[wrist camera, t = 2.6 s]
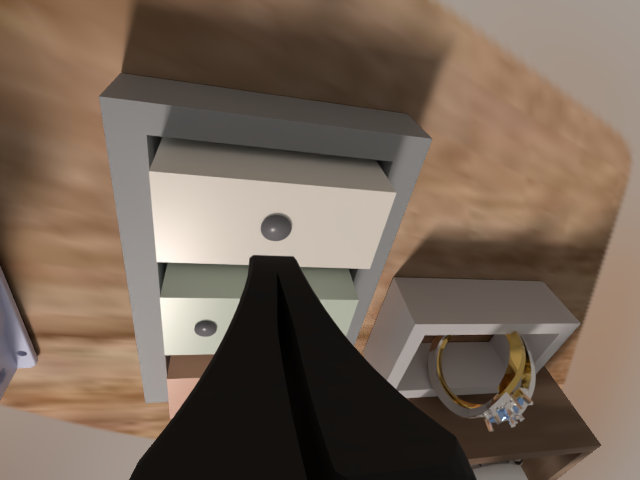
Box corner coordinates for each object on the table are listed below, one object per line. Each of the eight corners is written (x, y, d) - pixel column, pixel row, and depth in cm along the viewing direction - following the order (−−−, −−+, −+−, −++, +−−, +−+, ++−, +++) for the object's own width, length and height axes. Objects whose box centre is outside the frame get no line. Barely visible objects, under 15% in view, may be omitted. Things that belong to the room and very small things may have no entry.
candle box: (471, 431, 42) (511, 514, 36) (353, 441, 39) (375, 535, 33) (535, 354, 34) (601, 445, 28) (394, 358, 31) (433, 462, 25)
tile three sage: (330, 309, 23) (341, 352, 21) (173, 309, 21) (164, 357, 18) (345, 259, 21) (359, 301, 18) (169, 253, 18) (159, 299, 16)
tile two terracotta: (313, 368, 26) (320, 411, 24) (176, 373, 24) (169, 420, 22) (324, 331, 24) (333, 374, 22) (174, 332, 22) (166, 380, 19)
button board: (328, 357, 29) (335, 393, 27) (154, 362, 26) (145, 403, 24) (407, 114, 18) (432, 138, 16) (120, 73, 15) (98, 96, 13)
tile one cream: (354, 230, 19) (370, 270, 17) (167, 219, 17) (156, 263, 15) (375, 159, 17) (397, 194, 15) (163, 135, 15) (148, 172, 13)
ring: (480, 283, 27) (553, 387, 20) (500, 302, 28) (573, 402, 22) (403, 337, 29) (448, 444, 23) (426, 351, 31) (473, 454, 24)
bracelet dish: (493, 348, 33) (520, 391, 29) (363, 352, 30) (377, 399, 27) (542, 281, 28) (580, 323, 25) (393, 277, 25) (415, 324, 22)
